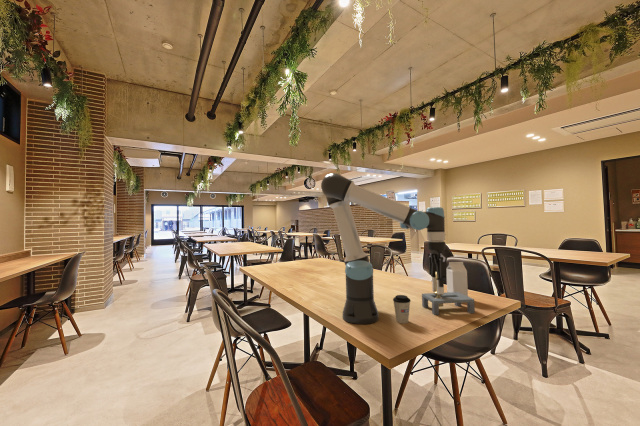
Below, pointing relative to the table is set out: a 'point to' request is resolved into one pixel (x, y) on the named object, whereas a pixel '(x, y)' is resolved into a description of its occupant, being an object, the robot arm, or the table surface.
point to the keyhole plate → (447, 301)
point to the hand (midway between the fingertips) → (438, 292)
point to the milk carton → (457, 278)
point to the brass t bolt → (436, 291)
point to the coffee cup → (401, 308)
